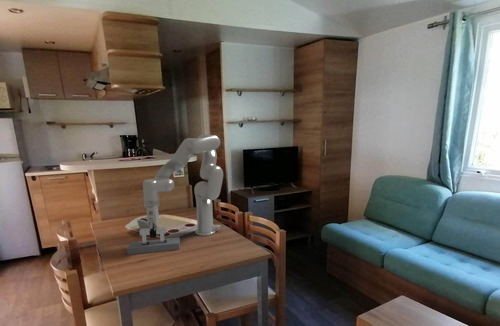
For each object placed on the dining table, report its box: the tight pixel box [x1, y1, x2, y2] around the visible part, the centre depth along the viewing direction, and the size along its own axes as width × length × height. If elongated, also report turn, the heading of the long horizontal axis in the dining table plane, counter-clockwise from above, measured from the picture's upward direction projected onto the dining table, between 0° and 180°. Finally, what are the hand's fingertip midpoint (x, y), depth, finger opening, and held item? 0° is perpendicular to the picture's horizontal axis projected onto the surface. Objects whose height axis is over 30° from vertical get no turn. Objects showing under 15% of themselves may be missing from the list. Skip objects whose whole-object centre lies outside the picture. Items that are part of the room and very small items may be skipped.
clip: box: [139, 226, 167, 245], centre depth 147 cm, size 13×3×8 cm, turn 102°
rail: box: [126, 236, 181, 256], centre depth 148 cm, size 26×8×4 cm, turn 103°
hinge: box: [136, 216, 158, 230], centre depth 173 cm, size 17×5×10 cm, turn 53°
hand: (153, 236), depth 147 cm, fingers closed on clip, 3 cm apart
